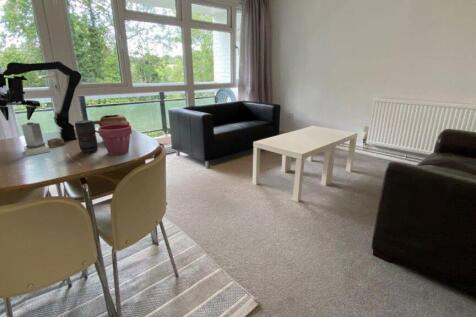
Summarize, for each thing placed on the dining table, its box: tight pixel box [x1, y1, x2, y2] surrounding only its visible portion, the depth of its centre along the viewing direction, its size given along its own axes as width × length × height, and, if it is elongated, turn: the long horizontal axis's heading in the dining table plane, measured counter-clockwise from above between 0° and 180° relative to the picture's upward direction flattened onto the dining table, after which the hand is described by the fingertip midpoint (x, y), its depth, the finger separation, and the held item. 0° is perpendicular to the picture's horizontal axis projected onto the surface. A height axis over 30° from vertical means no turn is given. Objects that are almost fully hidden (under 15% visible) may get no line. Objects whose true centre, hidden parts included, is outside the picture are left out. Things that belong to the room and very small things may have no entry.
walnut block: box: [47, 137, 65, 148], centre depth 138 cm, size 5×5×4 cm
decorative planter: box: [92, 114, 130, 134], centre depth 147 cm, size 20×12×14 cm, turn 128°
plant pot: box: [97, 124, 133, 156], centre depth 126 cm, size 14×14×13 cm
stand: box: [23, 142, 51, 156], centre depth 128 cm, size 9×9×3 cm
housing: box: [20, 122, 46, 148], centre depth 126 cm, size 5×5×12 cm
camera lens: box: [74, 119, 99, 154], centre depth 127 cm, size 8×8×15 cm
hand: (18, 120), depth 133 cm, fingers open, 9 cm apart
